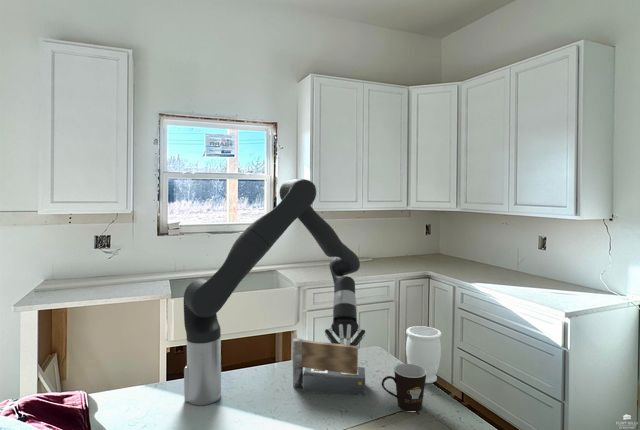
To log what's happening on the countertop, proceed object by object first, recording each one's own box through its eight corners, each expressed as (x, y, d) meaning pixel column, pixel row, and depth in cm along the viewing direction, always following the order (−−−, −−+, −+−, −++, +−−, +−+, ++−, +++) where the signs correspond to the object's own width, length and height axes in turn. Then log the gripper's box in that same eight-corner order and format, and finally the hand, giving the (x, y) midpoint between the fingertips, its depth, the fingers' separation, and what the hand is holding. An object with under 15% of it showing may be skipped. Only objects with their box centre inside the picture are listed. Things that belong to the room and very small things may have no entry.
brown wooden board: (291, 367, 116) (291, 341, 116) (294, 362, 119) (294, 337, 119) (355, 375, 111) (356, 349, 110) (358, 371, 114) (358, 345, 113)
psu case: (302, 392, 114) (302, 374, 113) (305, 380, 121) (306, 364, 121) (365, 395, 112) (365, 377, 112) (364, 383, 119) (364, 366, 119)
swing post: (292, 388, 116) (292, 368, 116) (293, 383, 119) (293, 364, 119) (302, 388, 116) (302, 368, 116) (303, 383, 119) (303, 364, 119)
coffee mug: (426, 400, 110) (426, 365, 109) (425, 417, 101) (426, 379, 101) (384, 394, 113) (384, 360, 112) (380, 410, 105) (381, 373, 104)
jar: (405, 383, 120) (406, 335, 119) (406, 368, 130) (406, 324, 129) (441, 387, 117) (442, 338, 116) (439, 372, 127) (440, 327, 126)
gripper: (323, 301, 124) (322, 356, 112) (365, 302, 123) (368, 356, 111) (324, 312, 129) (323, 365, 118) (364, 313, 128) (367, 366, 117)
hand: (345, 361), depth 115 cm, fingers closed
